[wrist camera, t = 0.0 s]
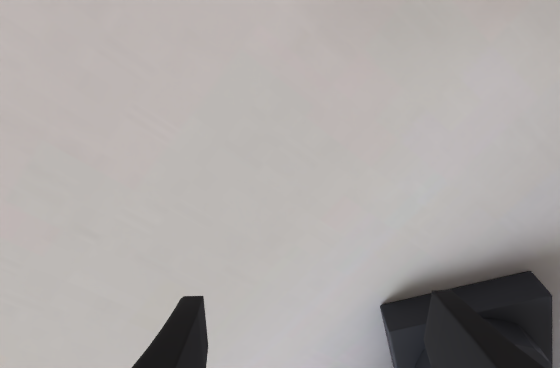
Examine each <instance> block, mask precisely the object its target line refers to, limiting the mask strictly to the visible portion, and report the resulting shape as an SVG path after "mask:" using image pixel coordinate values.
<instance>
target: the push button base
mask: <svg viewBox="0 0 560 368" xmlns="http://www.w3.org/2000/svg"><path fill="white" fill-rule="evenodd" d="M450 290H452V291H453V292H454V293H455V294H456V295H457V296H459V297H460V298H461V299H462V300H463V301H464V302H465V303H467V304H468V305H469V306H470V307H471V308H472V309H473V310H474V311H476V312H477V313H478V314H479V315H480V316H481V317H482V318H483V319H485V320H486V321H487V322H488V323H489V324H490V325H491V326H493V327H494V328H495V329H496V330H497V331H499V332H500V333H501V334H502V335H503V336H505V337H506V338H507V339H508V340H509V341H511V342H512V343H513V344H514V345H516V346H517V347H518V348H519V349H521V350H522V351H523V352H525V353H526V354H527V355H529V356H530V357H531V358H533V359H534V360H535V361H537V362H538V363H539V364H541V365H542V366H543V367H545V368H552V295H551V294H550V292H549V291H548V290H547V289H546V288H545V287H544V286H543V284H542V283H541V282H540V281H539V280H538V279H537V278H536V276H535V275H534V274H533V273H532V272H531V271H529V272H524V273H520V274H515V275H511V276H507V277H502V278H498V279H494V280H489V281H485V282H480V283H476V284H472V285H467V286H463V287H459V288H454V289H450ZM445 291H448V290H445ZM431 295H432V294H428V295H424V296H419V297H415V298H410V299H406V300H402V301H397V302H393V303H389V304H384V305H381V306H380V308H381V313H382V317H383V322H384V326H385V331H386V335H387V340H388V344H389V349H390V353H391V358H392V362H393V367H394V368H432V367H431V364H430V361H429V357H428V354H427V350H426V347H425V343H424V340H423V339H424V334H425V328H426V323H427V317H428V312H429V306H430V301H431Z"/></svg>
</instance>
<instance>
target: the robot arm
mask: <svg viewBox="0 0 560 368" xmlns="http://www.w3.org/2000/svg"><path fill="white" fill-rule="evenodd" d="M423 340H424V343H425V347H426V350H427V354H428V357H429V361H430V364H431V367H432V368H545V367H543V366H542V365H541V364H539V363H538V362H537V361H535V360H534V359H533V358H531V357H530V356H529V355H527V354H526V353H525V352H523V351H522V350H521V349H519V348H518V347H517V346H516V345H514V344H513V343H512V342H511V341H509V340H508V339H507V338H506V337H505V336H503V335H502V334H501V333H500V332H499V331H497V330H496V329H495V328H494V327H493V326H491V325H490V324H489V323H488V322H487V321H486V320H485V319H483V318H482V317H481V316H480V315H479V314H478V313H477V312H476V311H474V310H473V309H472V308H471V307H470V306H469V305H468V304H467V303H465V302H464V301H463V300H462V299H461V298H460V297H459V296H457V295H456V294H455V293H454V292H453V291H452V290H448V291H432V295H431V301H430V306H429V312H428V317H427V323H426V328H425V334H424V339H423ZM207 352H208V339H207V329H206V319H205V309H204V299H203V296H184V297H183V298H181V299H180V301H179V303H178V304H177V306H176V308H175V309H174V311H173V312H172V314H171V316H170V317H169V319H168V320H167V322H166V323H165V325H164V326H163V328H162V329H161V330H160V332H159V333H158V335H157V336H156V337H155V339H154V340H153V341H152V343H151V344H150V346H149V347H148V348H147V350H146V351H145V352H144V353H143V355H142V356H141V357H140V358H139V359H138V361H137V362H136V363H135V364H134V366H133V367H132V368H206V362H207Z"/></svg>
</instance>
